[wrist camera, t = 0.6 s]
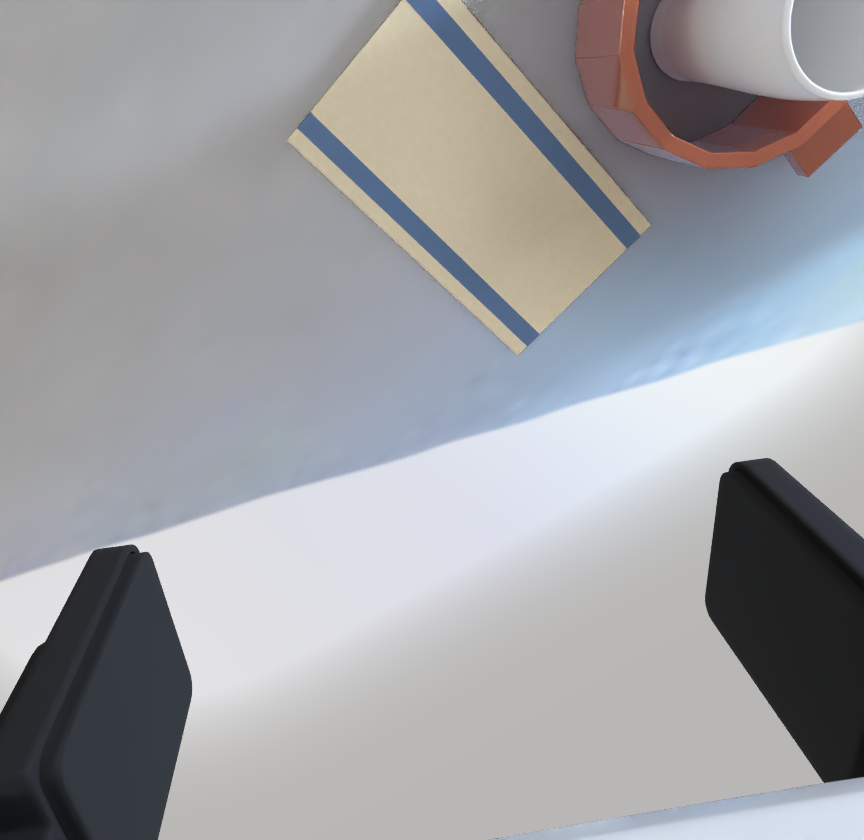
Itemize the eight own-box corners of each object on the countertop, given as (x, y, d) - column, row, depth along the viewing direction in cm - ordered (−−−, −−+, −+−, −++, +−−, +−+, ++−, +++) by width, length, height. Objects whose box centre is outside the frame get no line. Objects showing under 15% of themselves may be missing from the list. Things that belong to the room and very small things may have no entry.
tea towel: (287, 140, 40) (286, 140, 40) (429, -34, 37) (430, -35, 37) (516, 353, 48) (517, 355, 47) (649, 223, 45) (651, 225, 44)
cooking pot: (504, 3, 38) (537, -11, 32) (696, -219, 35) (773, -282, 29) (685, 223, 45) (740, 246, 39) (859, 55, 42) (951, 51, 36)
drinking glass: (677, -65, 38) (862, -142, 25) (769, 0, 40) (986, -38, 27) (611, 60, 40) (748, 51, 27) (701, 115, 42) (870, 133, 29)
